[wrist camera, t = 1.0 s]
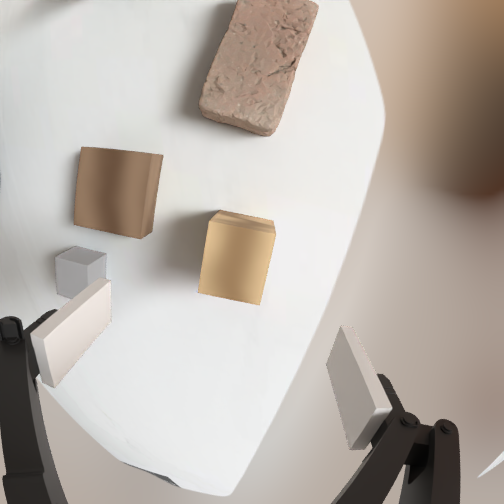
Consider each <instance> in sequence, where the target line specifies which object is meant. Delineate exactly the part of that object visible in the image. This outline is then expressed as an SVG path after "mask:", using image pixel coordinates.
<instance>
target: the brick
mask: <svg viewBox="0 0 504 504" xmlns="http://www.w3.org/2000/svg"><path fill="white" fill-rule="evenodd" d="M318 6H319V5H317V4H316V3H314V2H312V1H309V0H238V1H237V4H236V7H235V10H234V13H233V15H232V18H231V21H230V24H229V27H228V30H227V32H226V33H225V35H224V37H223V39H222V41H221V43H220V45H219V48H218V50H217V53H216V55H215V58H214V60H213V62H212V64H211V67H210V70H209V72H208V75H207V78H206V81H205V83H204V85H203V88H202V93H201V97H200V99H199V109H200V110H201V112H202V115H203V116H204V117H206V118H209V119H212V120H215V121H216V122H218V123H227V124H230V125H233V126H234V125H235V126H237V127H241V128H242V129H245V130H248V131H249V132H251V133H254V134H258V135H262V136H271V135H272V134H273V133H274V132H275V130H276V128H277V127H278V125H279V122H280V120H281V117H282V114H283V111H284V108H285V105H286V102H287V100H288V97H289V94H290V91H291V87H292V83H293V81H294V77H295V71H296V69H297V66H298V63H299V60H300V57H301V54H302V52H303V50H304V48H305V46H306V43H307V40H308V37H309V34H310V32H311V29H312V27H313V23H314V20H315V17H316V15H317V12H318Z"/></svg>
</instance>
